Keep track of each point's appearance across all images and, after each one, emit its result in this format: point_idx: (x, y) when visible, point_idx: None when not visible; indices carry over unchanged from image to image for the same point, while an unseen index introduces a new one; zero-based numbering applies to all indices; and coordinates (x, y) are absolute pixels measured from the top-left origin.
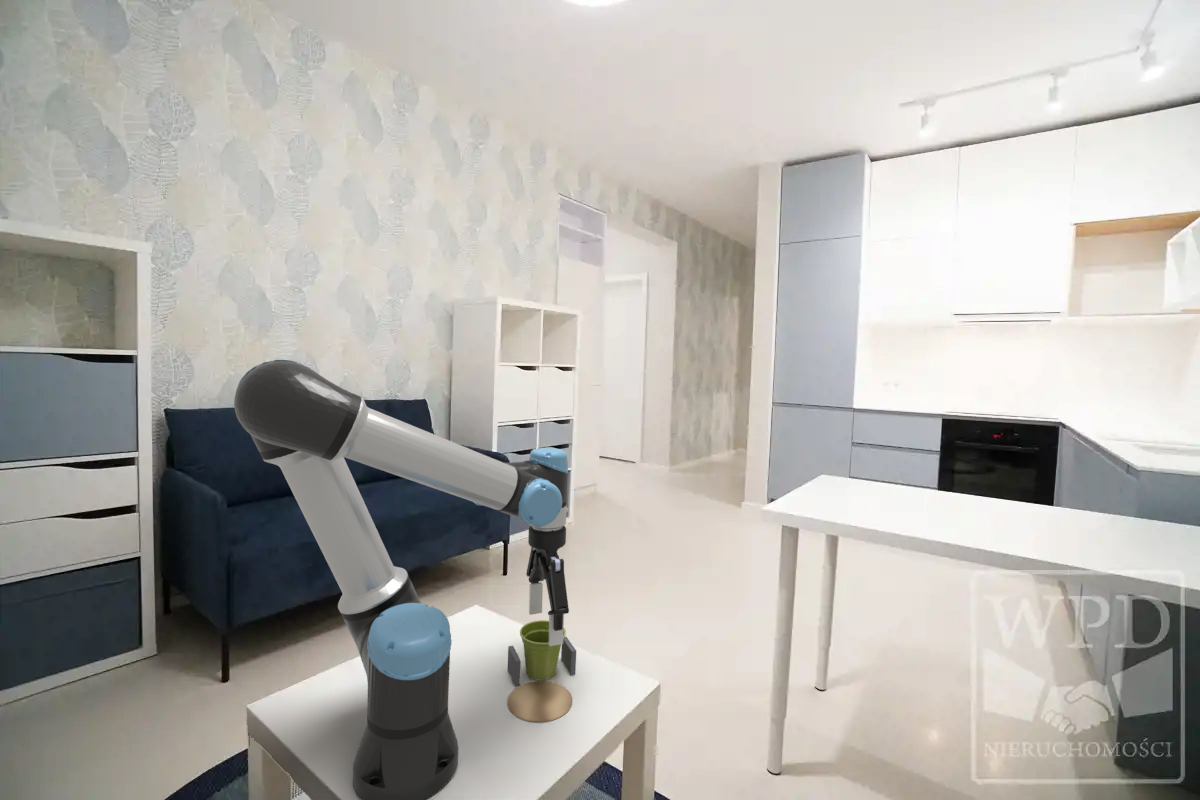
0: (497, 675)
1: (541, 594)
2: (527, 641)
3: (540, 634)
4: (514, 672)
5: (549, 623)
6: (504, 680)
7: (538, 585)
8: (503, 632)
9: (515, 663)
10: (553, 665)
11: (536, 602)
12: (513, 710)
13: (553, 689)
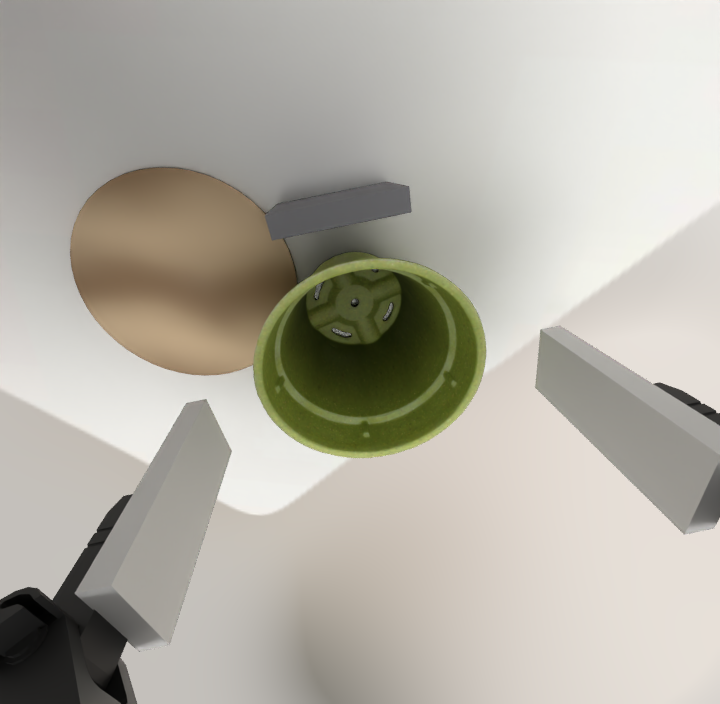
0: (357, 135)
1: (612, 456)
2: (286, 294)
3: (442, 343)
4: (285, 206)
5: (147, 496)
6: (320, 164)
7: (684, 498)
8: (652, 182)
9: (268, 213)
10: (311, 353)
11: (581, 397)
12: (116, 187)
13: (247, 330)
